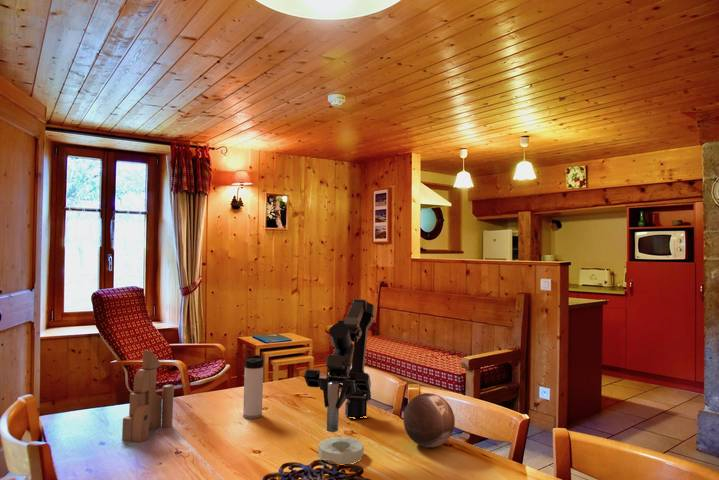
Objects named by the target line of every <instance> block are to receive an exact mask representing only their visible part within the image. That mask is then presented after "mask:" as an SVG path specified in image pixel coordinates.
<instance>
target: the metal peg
mask: <svg viewBox="0 0 719 480" xmlns="http://www.w3.org/2000/svg"><path fill="white" fill-rule="evenodd" d="M339 397H340V383H339V382H337V381H330V382H328V397H327V408H326V409H327V411H326V432H329V433H337V432H338V431H339V415H340V414H339V413H340V412H339V411H340V410H339V409H340V408H339V409H338V408H337V405H338V400H339Z"/></svg>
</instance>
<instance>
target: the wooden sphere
mask: <svg viewBox="0 0 719 480" xmlns="http://www.w3.org/2000/svg"><path fill="white" fill-rule="evenodd" d="M402 420H403V427H404V430H405V432H406V434H407V436H408V437H409V438H410V440H412V441H413V442H414V443H415V444H416V445H418V446H421V447H424V448H429V447H431V448H437V447H440V446H441V445H443V444H445V443H446V442H447V441H449V439H450V438H451V436H452V434H453V433H454V430H455V422H456V419H455V413H454V411H453V409H452V406H451V405H450V404H449V402H448V401H447V400H446V399H444V398H443V397H442V396H440V395H438V394H436V393H431V392H427V393H426V392H425V393H421V394H418V395H416V396H414V397H413V398H412V399H411V400H409V402H408V403H407V404H406V406H405V409H404V412H403V419H402Z"/></svg>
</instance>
